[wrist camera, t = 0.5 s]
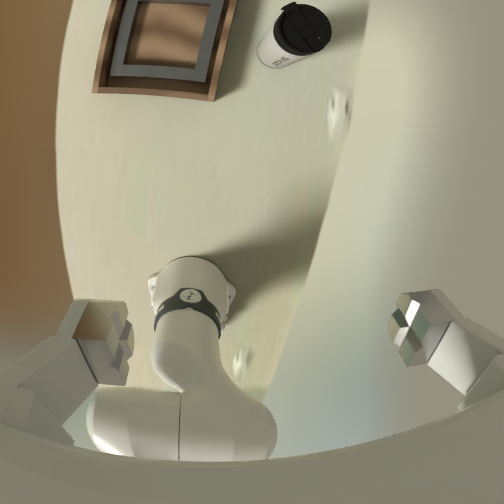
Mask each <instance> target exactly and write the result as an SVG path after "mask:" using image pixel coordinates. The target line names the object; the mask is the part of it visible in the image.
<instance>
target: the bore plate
mask: <svg viewBox="0 0 504 504" xmlns="http://www.w3.org/2000/svg"><path fill="white" fill-rule="evenodd" d="M141 3H159V4H183V5H196V6H206V7H209V11H208V15H207V19H206V23H205V27H204V31H203V35H202V39H201V43H200V48H199V52H198V56H197V61H196V66H195V69H189V68H179V67H167V66H152V65H127V60H128V55H129V51H130V46H131V41H132V37H133V33H134V29H135V25H136V21H137V17H138V13H139V9H140V6H141ZM224 3H225V0H127V2H126V6H125V9H124V13H123V17H122V21H121V25H120V29H119V33H118V37H117V42H116V46H115V51H114V56H113V61H112V66H111V72H110V76H121V77H148V78H163V79H175V80H185V81H194V82H202V83H206V79H207V74H208V69H209V64H210V60H211V55H212V51H213V47H214V42H215V38H216V34H217V30H218V26H219V22H220V18H221V14H222V10H223V6H224Z"/></svg>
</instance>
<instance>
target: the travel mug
mask: <svg viewBox="0 0 504 504" xmlns="http://www.w3.org/2000/svg"><path fill="white" fill-rule="evenodd" d="M281 10H284V11H283V12H282V14H281V15H280V16H279V17H278V18H277V19H276V21H275V22H274V23H273V24H272V26H271V27H270V28H269V30H268V31H267V33H266V34H265V35H264V37H263V38H262V39H261V41H260V42H259V44H258V46H257V56H258V58H259V60H260V61H261V62H262V63H263V64H264V65H266V66H268V67H271V68H282V67H285V66H287V65H289V64H291V63H294V62H296V61H298V60H300V59H303V58H305V57H308V56H310V55H312V54H315V53H316V52H318V51H320V50H322V49H323V48H324V47H325V45H327V43H328V42H329V41H330V39H331V34H332V30H331V25H330V22H329V20H328V18H327V17H326V16H325V14H324V13H323V12H321V11H320V10H319V9H317V8H315V7H313V6H310V5H306V4H296V2H292V3H290V4H288V5H286V6H284V7H282V9H281Z"/></svg>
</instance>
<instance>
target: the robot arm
mask: <svg viewBox="0 0 504 504" xmlns="http://www.w3.org/2000/svg"><path fill="white" fill-rule="evenodd" d="M148 286H149V290H150V295H151V299H152V301H151V305H153V308H154V312H155V320H154V322H155V324H154V330H155V335H154V340H153V345H152V350H151V363H152V366H153V368H154V370H155V371H156V373H157V374H158V375H159V377H160V378H161V379H162V380H163V381H164V382H165V383H167V384H168V385H170V386H172V387H173V388H175V389H177V390H178V391H180V392H181V393H182V394H181V393H179V392H170V391H162V390H154V389H147V388H140V387H105V388H102V389H101V390H99V391H98V392H97V393H96V394H95V396H94V397H93V398H92V400H91V401H90V403H89V406H88V409H87V414H86V423H87V429H88V432H89V435H90V437H91V439H92V441H93V443H94V444H95V446H96V447H97V448H98V449H99V450H100V451H101V452H99V451H94V450H89V449H84V448H80V447H75V446H73V444H74V440H73V438H72V437H71V435H70V434H69V433H68V432H67V431H66V430H65V429H64V428H63V427H62V425H63V423H64V422H65V421H66V420H67V419H68V418H69V417H70V416H71V414H72V413H73V412H74V411H75V410H76V409H77V408H78V407H79V406H80V405H81V404H82V402H83V401H84V400H85V399H86V398H87V397H88V396H89V395H90V394H91V393H92V391H93V390H94V389H95V388H96V387H97V386H98V384H106V385H119V386H125V385H126V380H127V376H128V371H129V365H128V362H127V360H128V359H129V358H130V357H131V356H132V354H133V350H134V332H133V327H132V324H131V323H130V322H129V321H128V320H126V319H127V316H128V309H127V306H126V303H125V302H123V301H112V300H96V299H92V300H91V299H76V300H74V301H73V303H72V305H71V306H70V308H69V310H68V312H67V314H66V316H65V318H64V320H63V322H62V324H61V326H60V327H59V329H58V331H57V334H56V336H55V337H49V338H48V339H46V340H45V341H43V342H42V343H40V344H39V345H38V346H36V347H35V348H34V349H32V350H31V351H29V352H28V353H26V354H25V355H24V356H22V357H21V358H20V359H18V360H17V361H15V362H14V363H13V364H11V365H10V366H9V367H7V368H6V369H5V370H3V371H2V372H0V504H504V338H502V337H501V336H499V335H497V334H495V333H494V332H492V331H490V330H488V329H487V328H485V327H483V326H481V325H479V324H478V323H476V322H474V321H472V320H470V319H469V318H466V319H465V318H464V317H463V316H462V314H461V313H460V312H459V311H458V309H457V308H456V307H455V306H454V305H453V303H452V302H451V301H450V300H449V299H448V297H447V296H446V295H445V294H444V293H443V292H442V291H441V290H439V289H434V290H427V291H420V292H410V293H402V294H401V295H400V296H399V298H398V300H397V303H396V305H397V307H398V309H397V310H396V311H395V312H394V313H393V314H392V315H391V318H390V321H389V333H390V337H391V339H392V341H393V342H394V343H395V344H397V345H398V346H400V350H399V353H400V355H401V357H402V359H403V360H404V362H405V364H406V366H407V367H411V366H416V365H421V364H425V363H428V364H427V365H429V366H430V367H431V368H432V369H434V370H435V371H436V372H437V373H439V374H440V375H441V376H442V377H443V378H445V379H446V380H447V381H448V382H449V383H451V384H452V385H453V386H454V387H456V388H457V389H458V390H459V391H460V392H461V393H463V394H464V395H465V396H464V397H463V398H462V400H461V401H460V402H459V403H458V406H457V408H458V409H459V411H458V412H455V413H453V414H451V415H448V416H446V417H443V418H441V419H438V420H436V421H433V422H430V423H428V424H425V425H423V426H419V427H416V428H414V429H411V430H408V431H404V432H401V433H398V434H395V435H392V436H388V437H385V438H382V439H378V440H374V441H370V442H366V443H362V444H358V445H354V446H350V447H345V448H340V449H335V450H330V451H325V452H319V453H313V454H307V455H299V456H292V457H284V458H275V459H268V458H269V456H270V455H271V454H272V452H273V450H274V448H275V445H276V441H277V427H276V423H275V420H274V417H273V415H272V414H271V412H270V411H269V409H268V408H267V407H266V406H265V405H264V404H263V403H262V402H260V401H258V400H256V399H254V398H252V397H250V396H249V395H247V394H246V393H245V392H243V391H242V390H241V389H240V388H238V387H237V386H236V385H235V384H234V382H233V381H232V380H231V379H230V378H229V376H228V375H227V373H226V372H225V370H224V368H223V366H222V363H221V358H220V350H219V339H220V335H221V333H223V331H224V328H225V323H222V322H226V321H227V315H226V314H228V309H229V307H230V305H231V303H232V301H233V299H234V297H235V295H236V288H235V287H234V286H233V285H232V284H230V283H229V282H227V280H226V279H225V277H224V276H223V274H222V272H221V271H220V270H219V269H218V268H217V267H216V266H215V265H214V264H212V263H211V262H209V261H207V260H204V259H201V258H196V257H184V258H179V259H176V260H174V261H172V262H170V263H169V264H167V265H166V266H165V267H164V268H163V270H162V271H161V272H159V273H157V274H155V275H152V276H151V277H149V279H148ZM153 286H154V287H153ZM229 295H230V296H229Z"/></svg>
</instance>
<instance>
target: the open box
mask: <svg viewBox="0 0 504 504" xmlns="http://www.w3.org/2000/svg"><path fill="white" fill-rule="evenodd" d="M237 1H238V0H225V3H224V6H223V10H222V14H221V18H220V22H219V26H218V30H217V34H216V38H215V42H214V47H213V51H212V55H211V60H210V64H209V69H208V74H207V79H206V83H202V82H194V81H185V80H175V79H163V78H148V77H121V76H110V72H111V66H112V61H113V56H114V51H115V46H116V42H117V37H118V33H119V29H120V25H121V21H122V17H123V13H124V9H125V6H126V2H127V0H112V1H111V4H110V8H109V11H108V15H107V19H106V23H105V27H104V31H103V35H102V40H101V44H100V49H99V54H98V59H97V64H96V70H95V76H94V82H93V89H92V93H118V94H141V95H155V96H167V97H178V98H187V99H195V100H203V101H210V102H214V101H215V96H216V91H217V86H218V81H219V77H220V72H221V67H222V63H223V58H224V54H225V50H226V45H227V41H228V37H229V33H230V29H231V25H232V21H233V17H234V13H235V9H236V5H237ZM208 11H209V7H206V6H196V5H183V4H159V3H141V6H140V9H139V13H138V17H137V21H136V25H135V29H134V33H133V37H132V41H131V46H130V51H129V55H128V60H127V65H152V66H167V67H179V68H189V69H195V66H196V61H197V56H198V52H199V48H200V43H201V39H202V35H203V31H204V27H205V23H206V19H207V15H208Z"/></svg>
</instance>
